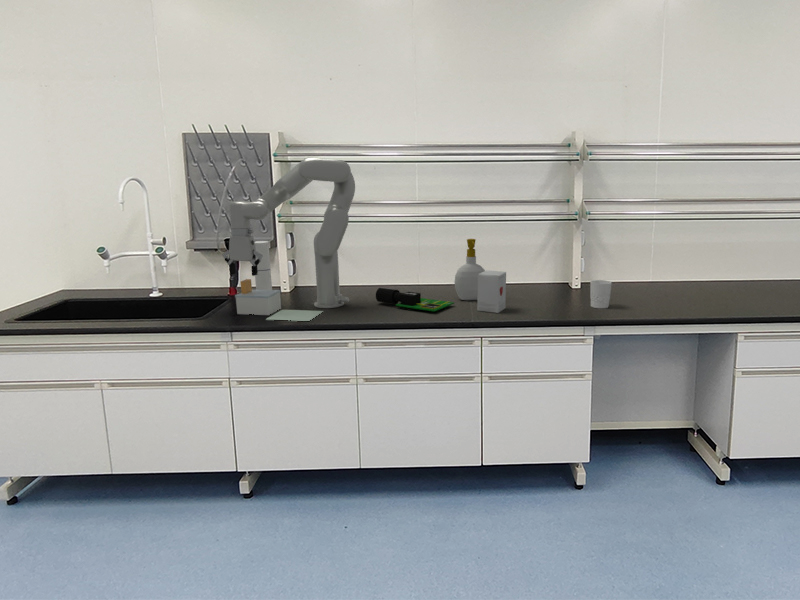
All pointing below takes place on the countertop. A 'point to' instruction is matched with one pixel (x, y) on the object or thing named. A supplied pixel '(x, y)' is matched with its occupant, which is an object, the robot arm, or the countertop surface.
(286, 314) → the mat
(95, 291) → the countertop surface
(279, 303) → the tub
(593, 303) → the white cup
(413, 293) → the electronic board model
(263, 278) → the tall grey box
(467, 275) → the soap bottle
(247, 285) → the lid
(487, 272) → the supplement box
